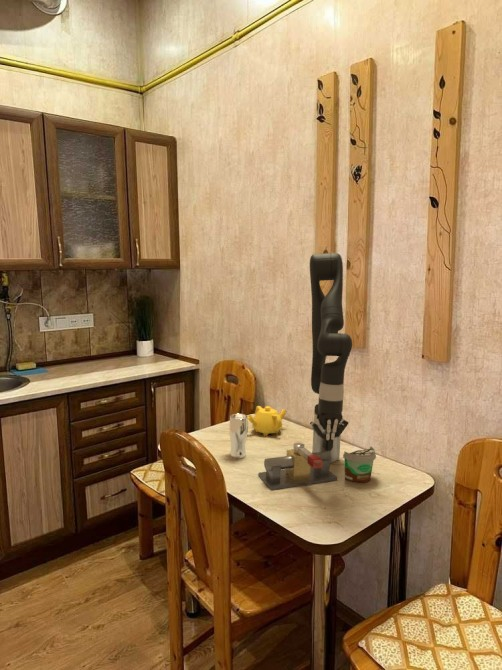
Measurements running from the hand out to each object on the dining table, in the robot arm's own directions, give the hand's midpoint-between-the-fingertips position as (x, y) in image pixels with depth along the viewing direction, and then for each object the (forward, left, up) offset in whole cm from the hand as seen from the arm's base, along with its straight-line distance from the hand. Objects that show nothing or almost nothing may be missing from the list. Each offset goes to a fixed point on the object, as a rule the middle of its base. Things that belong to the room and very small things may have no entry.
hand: (327, 450), depth 147 cm
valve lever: (+5, -4, -4) cm, 8 cm away
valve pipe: (+5, -10, -13) cm, 17 cm away
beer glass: (+18, -34, -13) cm, 41 cm away
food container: (-15, -2, -13) cm, 20 cm away
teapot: (-2, -54, -13) cm, 56 cm away
